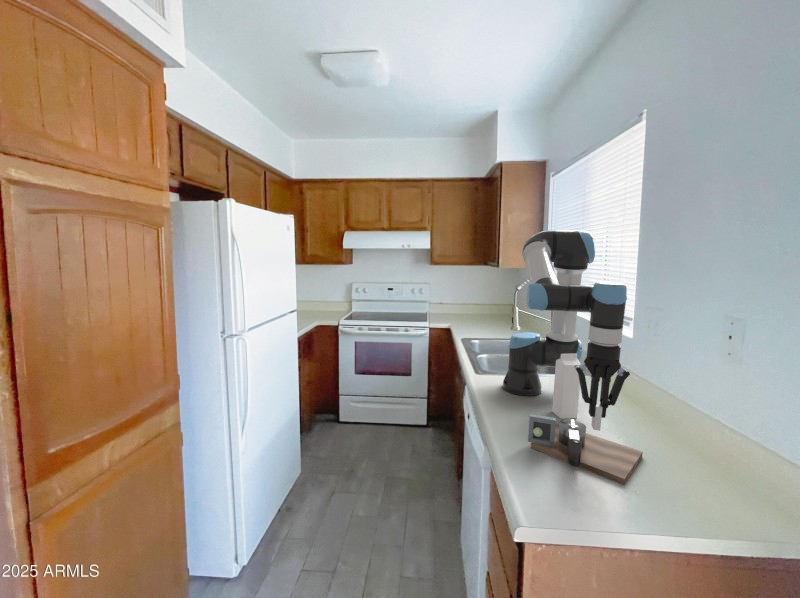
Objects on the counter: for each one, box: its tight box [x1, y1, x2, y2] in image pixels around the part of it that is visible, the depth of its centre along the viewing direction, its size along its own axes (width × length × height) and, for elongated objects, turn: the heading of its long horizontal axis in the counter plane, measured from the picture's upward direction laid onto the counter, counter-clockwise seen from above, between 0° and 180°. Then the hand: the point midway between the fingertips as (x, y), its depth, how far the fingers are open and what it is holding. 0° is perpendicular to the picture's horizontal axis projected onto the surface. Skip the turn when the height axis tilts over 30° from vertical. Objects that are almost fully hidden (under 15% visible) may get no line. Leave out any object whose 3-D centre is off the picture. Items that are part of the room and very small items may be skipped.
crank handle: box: [558, 418, 587, 467], centre depth 104 cm, size 18×7×6 cm, turn 158°
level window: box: [527, 413, 557, 447], centre depth 108 cm, size 3×7×8 cm, turn 68°
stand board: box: [530, 422, 644, 486], centre depth 107 cm, size 18×24×2 cm
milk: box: [551, 354, 582, 420], centre depth 130 cm, size 6×6×22 cm
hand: (595, 427), depth 101 cm, fingers closed
